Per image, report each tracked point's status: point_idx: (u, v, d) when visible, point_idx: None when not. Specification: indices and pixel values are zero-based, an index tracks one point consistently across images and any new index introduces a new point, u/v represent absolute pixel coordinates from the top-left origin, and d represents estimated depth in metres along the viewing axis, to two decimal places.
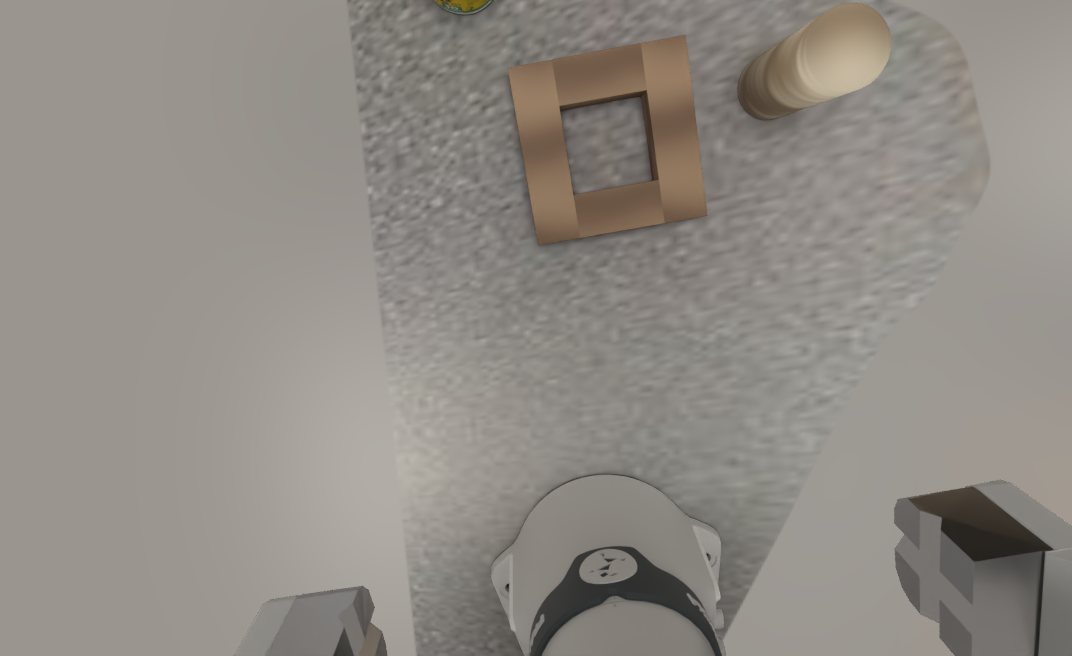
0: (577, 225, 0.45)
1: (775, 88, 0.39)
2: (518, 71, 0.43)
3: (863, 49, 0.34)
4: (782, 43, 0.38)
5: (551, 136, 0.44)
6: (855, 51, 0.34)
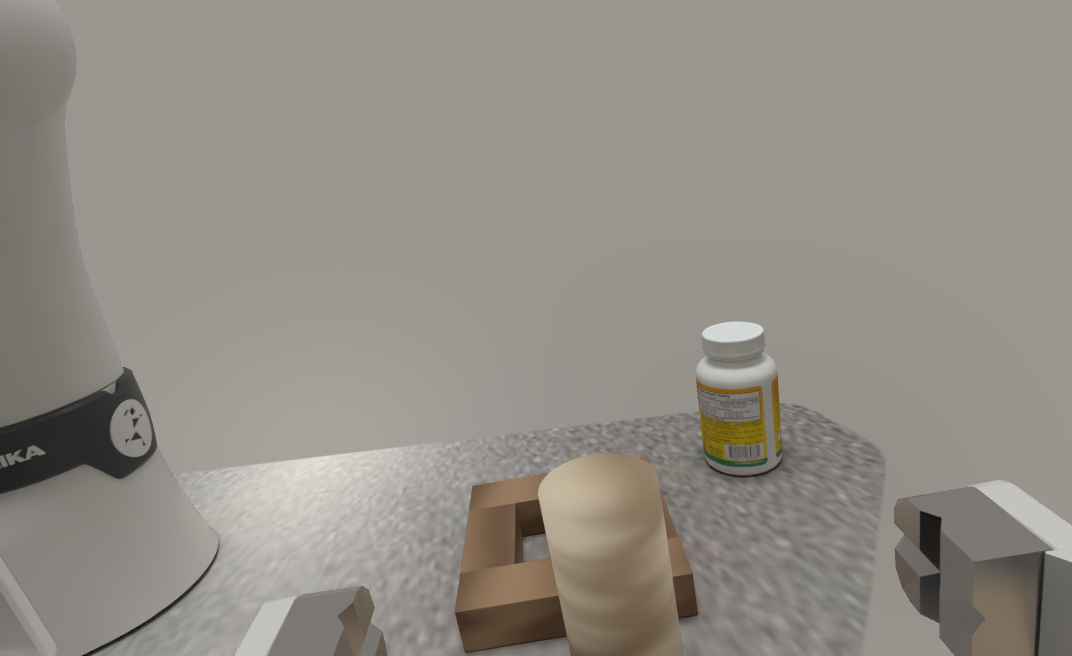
0: (482, 508, 0.41)
1: None
2: None
3: (592, 496, 0.22)
4: None
5: None
6: (591, 489, 0.23)
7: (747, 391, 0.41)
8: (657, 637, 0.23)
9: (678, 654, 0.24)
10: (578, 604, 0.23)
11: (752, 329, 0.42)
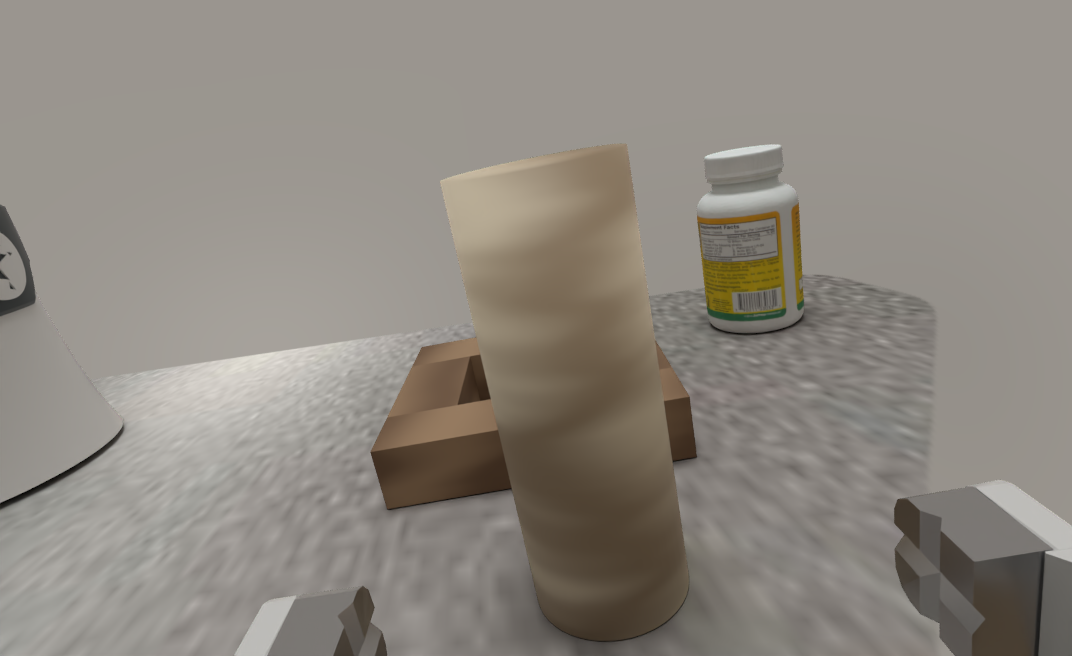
0: (429, 363, 0.32)
1: None
2: None
3: (522, 166, 0.14)
4: None
5: None
6: (522, 165, 0.15)
7: (761, 218, 0.33)
8: (626, 396, 0.15)
9: (662, 438, 0.16)
10: (501, 342, 0.14)
11: (767, 146, 0.34)
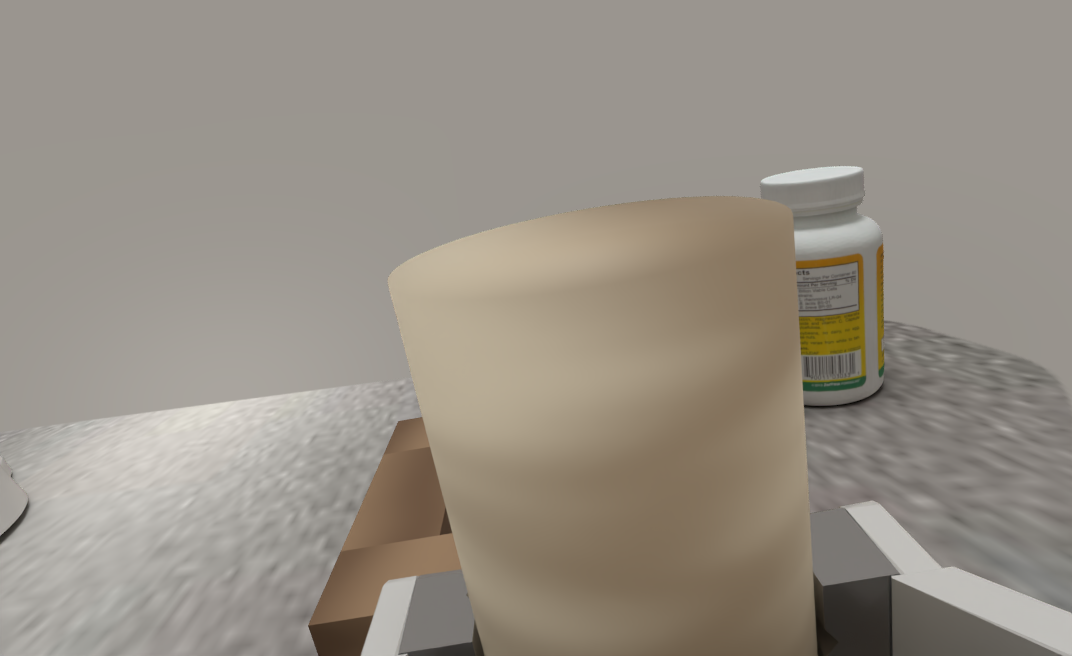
0: (406, 450, 0.25)
1: None
2: None
3: (565, 254, 0.06)
4: None
5: None
6: (562, 247, 0.07)
7: (839, 262, 0.25)
8: None
9: None
10: (517, 628, 0.07)
11: (843, 169, 0.26)
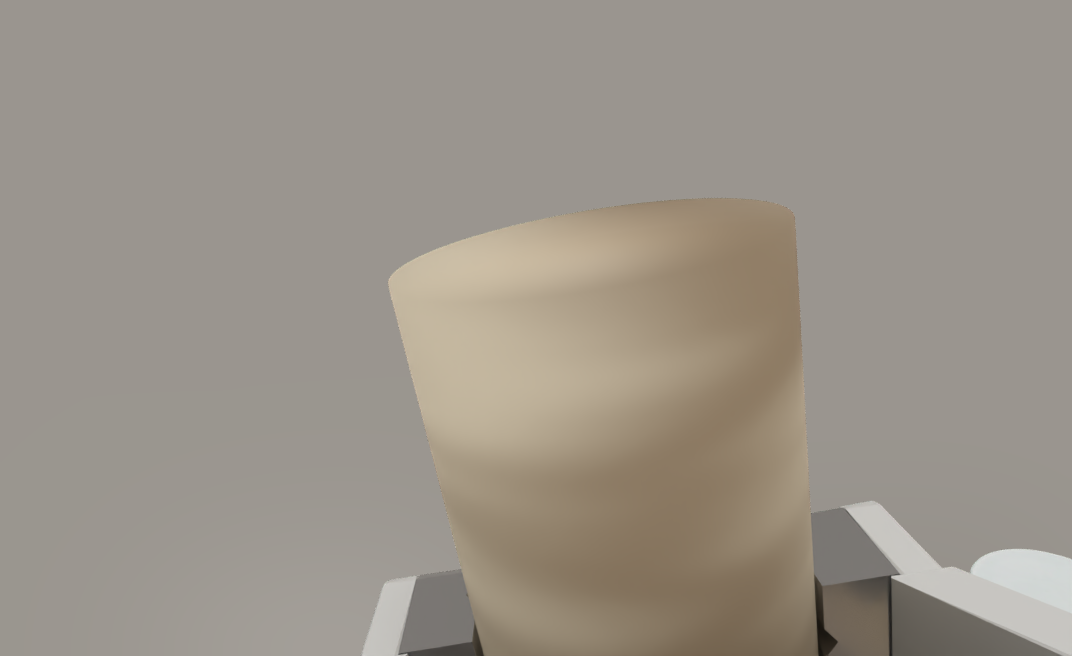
0: None
1: None
2: None
3: (566, 257, 0.06)
4: None
5: None
6: (563, 248, 0.07)
7: None
8: None
9: None
10: (517, 631, 0.07)
11: None
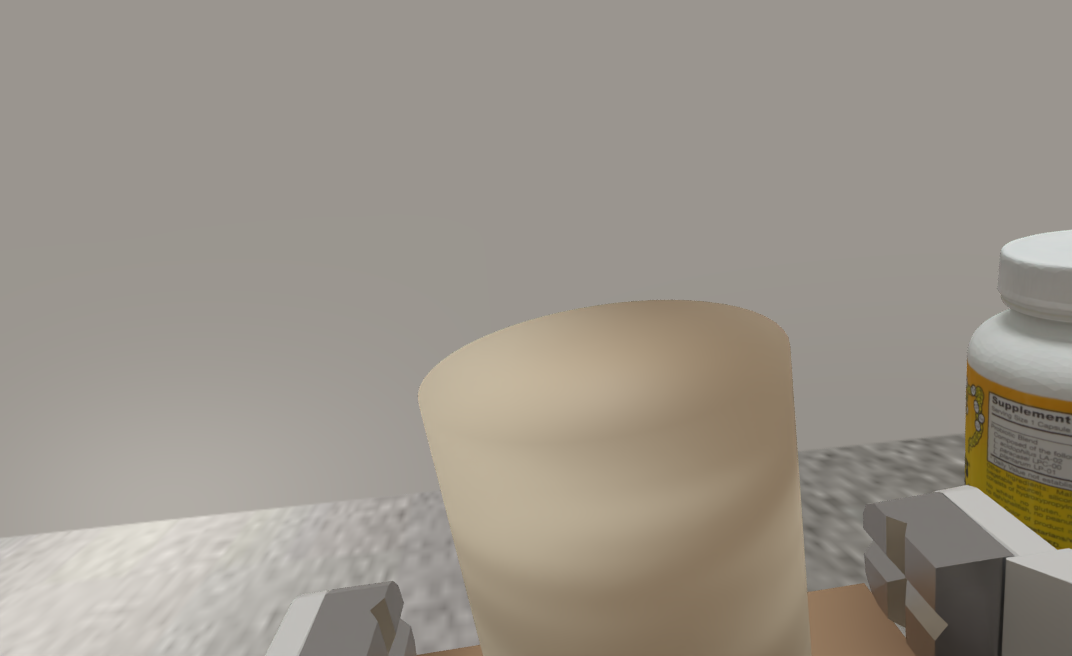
0: None
1: None
2: (865, 603, 0.15)
3: (582, 381, 0.07)
4: None
5: None
6: (578, 368, 0.07)
7: None
8: None
9: None
10: None
11: None
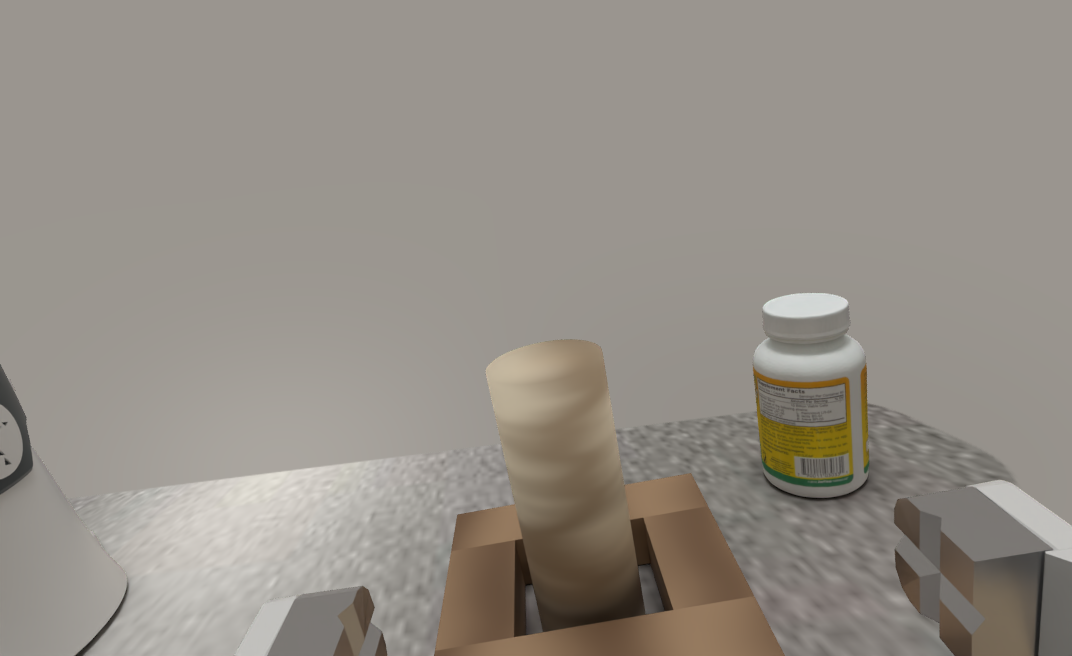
0: (470, 547, 0.30)
1: None
2: (688, 481, 0.31)
3: (537, 368, 0.23)
4: None
5: None
6: (537, 364, 0.23)
7: (829, 384, 0.30)
8: (602, 508, 0.23)
9: (625, 531, 0.25)
10: (525, 475, 0.23)
11: (832, 301, 0.31)
